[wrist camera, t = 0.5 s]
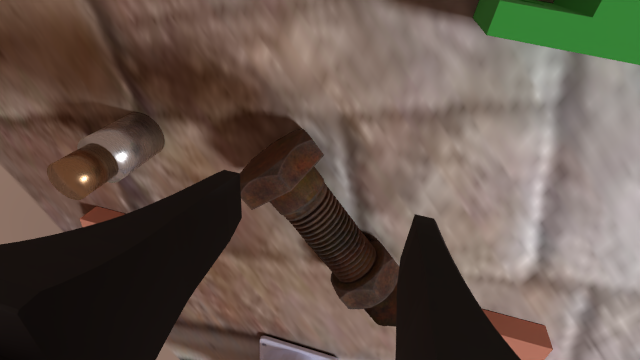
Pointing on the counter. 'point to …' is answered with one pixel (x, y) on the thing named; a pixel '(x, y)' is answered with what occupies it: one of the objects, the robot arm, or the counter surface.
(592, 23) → the pipe clamp
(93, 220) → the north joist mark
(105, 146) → the two-tone metal capsule
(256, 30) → the counter surface
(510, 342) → the block
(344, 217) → the bolt
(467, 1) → the counter surface
